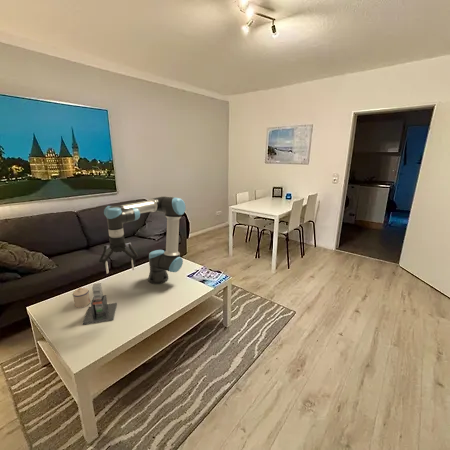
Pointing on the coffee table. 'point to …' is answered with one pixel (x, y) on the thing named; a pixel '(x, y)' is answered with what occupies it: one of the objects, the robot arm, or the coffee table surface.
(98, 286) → the column
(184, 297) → the coffee table surface
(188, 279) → the coffee table surface
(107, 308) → the stand base
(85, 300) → the teacup with lid
